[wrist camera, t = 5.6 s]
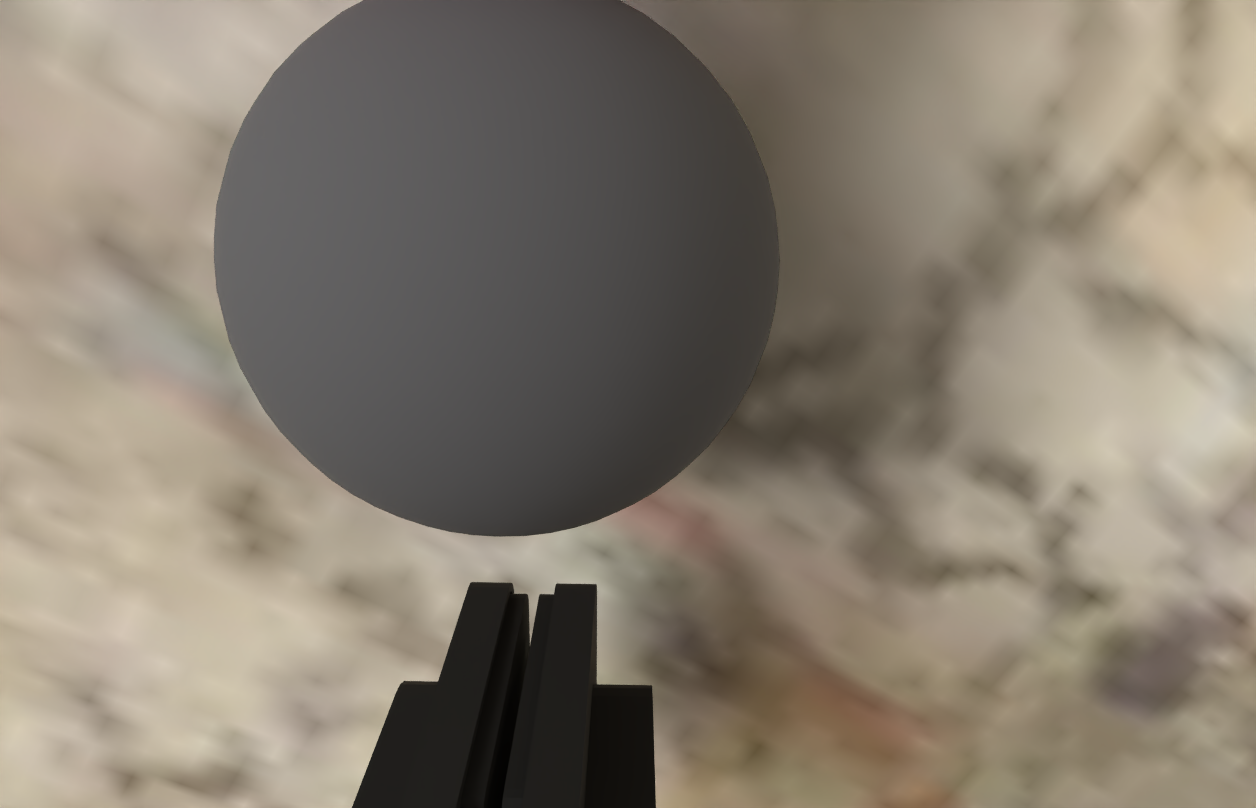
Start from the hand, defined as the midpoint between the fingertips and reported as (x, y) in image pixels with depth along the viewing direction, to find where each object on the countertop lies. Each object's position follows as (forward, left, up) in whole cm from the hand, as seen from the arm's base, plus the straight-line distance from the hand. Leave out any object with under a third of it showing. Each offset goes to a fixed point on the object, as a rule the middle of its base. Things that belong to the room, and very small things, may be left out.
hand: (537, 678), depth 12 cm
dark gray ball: (+6, 0, +1) cm, 6 cm away
